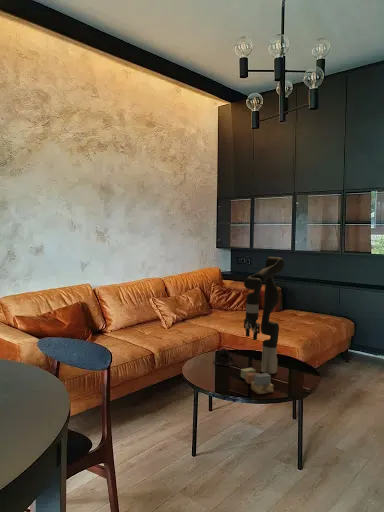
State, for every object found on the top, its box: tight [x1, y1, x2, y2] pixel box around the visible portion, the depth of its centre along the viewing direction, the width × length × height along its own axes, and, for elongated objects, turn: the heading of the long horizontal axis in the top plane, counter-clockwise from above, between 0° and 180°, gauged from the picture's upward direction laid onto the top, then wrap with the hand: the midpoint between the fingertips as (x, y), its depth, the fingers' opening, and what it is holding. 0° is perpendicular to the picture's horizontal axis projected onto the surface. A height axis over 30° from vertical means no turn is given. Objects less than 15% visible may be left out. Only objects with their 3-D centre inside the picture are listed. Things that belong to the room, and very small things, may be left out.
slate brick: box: [254, 372, 272, 386], centre depth 224 cm, size 8×4×5 cm, turn 111°
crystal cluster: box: [214, 348, 235, 366], centre depth 270 cm, size 13×14×10 cm
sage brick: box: [240, 367, 257, 380], centre depth 244 cm, size 8×4×5 cm, turn 118°
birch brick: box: [250, 382, 275, 395], centre depth 224 cm, size 10×8×4 cm
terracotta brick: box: [245, 372, 260, 384], centre depth 236 cm, size 8×4×5 cm, turn 99°
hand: (251, 338), depth 233 cm, fingers open, 8 cm apart
